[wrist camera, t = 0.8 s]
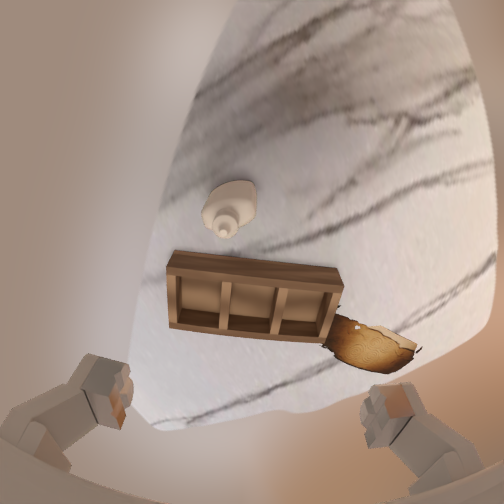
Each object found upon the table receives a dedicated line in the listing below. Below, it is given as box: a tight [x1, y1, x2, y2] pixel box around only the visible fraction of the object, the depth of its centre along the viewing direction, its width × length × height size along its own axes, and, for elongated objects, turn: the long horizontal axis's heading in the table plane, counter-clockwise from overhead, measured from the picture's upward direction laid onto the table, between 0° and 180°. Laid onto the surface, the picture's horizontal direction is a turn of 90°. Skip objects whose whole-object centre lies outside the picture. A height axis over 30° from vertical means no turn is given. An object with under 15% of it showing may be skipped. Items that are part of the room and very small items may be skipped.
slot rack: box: [166, 250, 344, 343], centre depth 42 cm, size 10×23×4 cm, turn 83°
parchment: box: [320, 306, 422, 374], centre depth 49 cm, size 25×10×1 cm, turn 59°
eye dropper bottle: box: [201, 180, 257, 239], centre depth 32 cm, size 4×6×12 cm
